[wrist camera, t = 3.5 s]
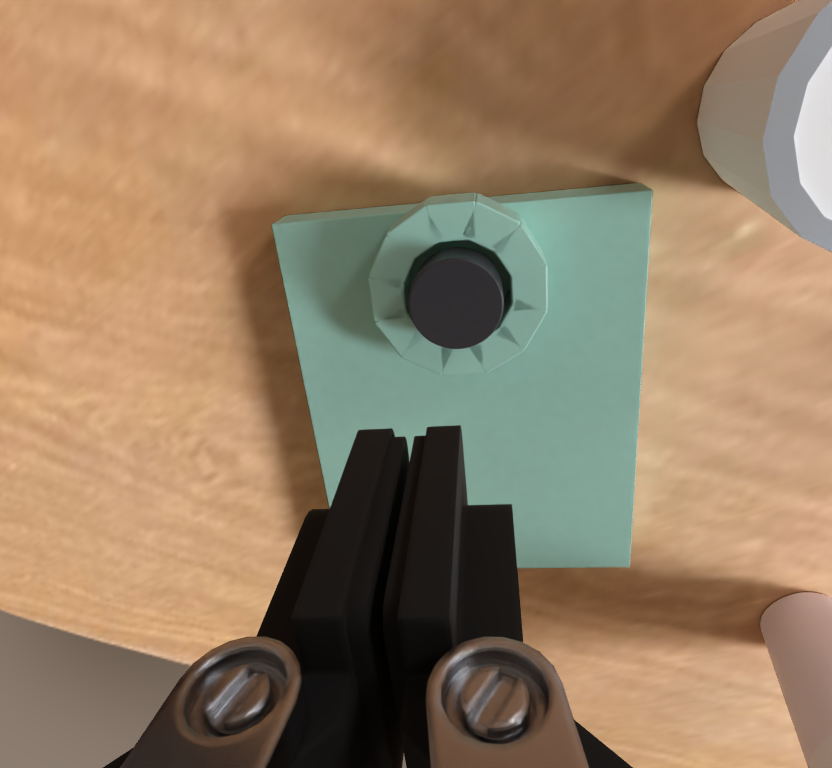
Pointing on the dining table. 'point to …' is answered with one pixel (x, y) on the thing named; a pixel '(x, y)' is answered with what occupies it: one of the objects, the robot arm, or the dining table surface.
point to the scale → (489, 352)
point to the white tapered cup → (776, 118)
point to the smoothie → (804, 667)
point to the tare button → (456, 298)
